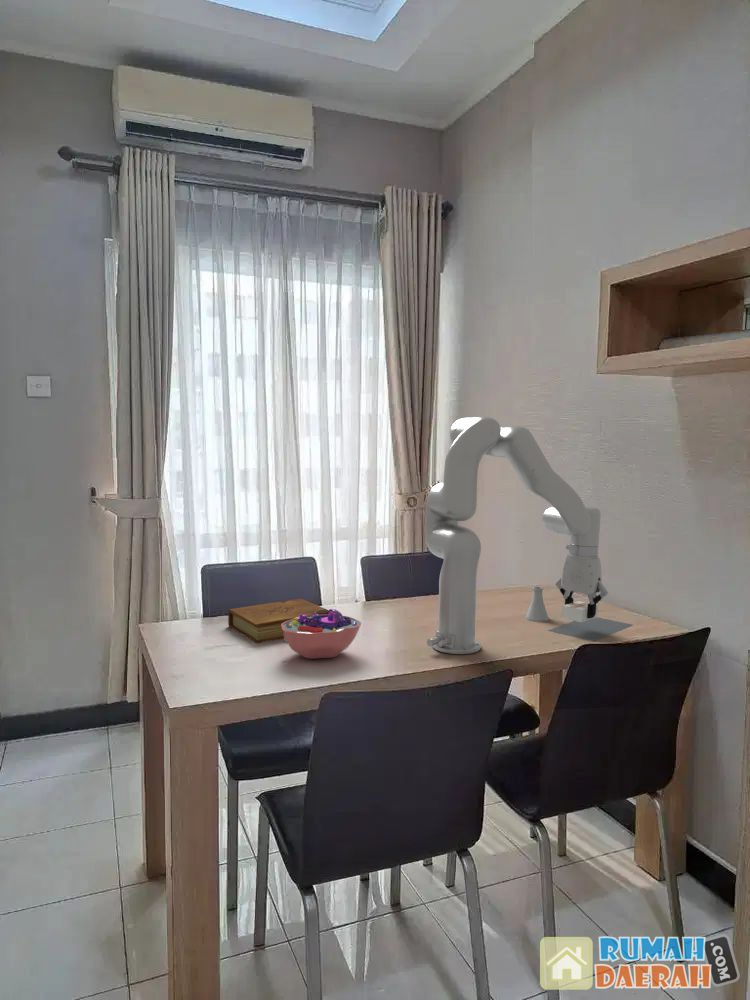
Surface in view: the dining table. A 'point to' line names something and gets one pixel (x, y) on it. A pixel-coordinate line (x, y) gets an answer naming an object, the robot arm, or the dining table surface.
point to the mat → (591, 628)
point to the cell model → (320, 634)
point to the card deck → (577, 611)
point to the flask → (537, 607)
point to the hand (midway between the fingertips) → (579, 614)
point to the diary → (269, 618)
